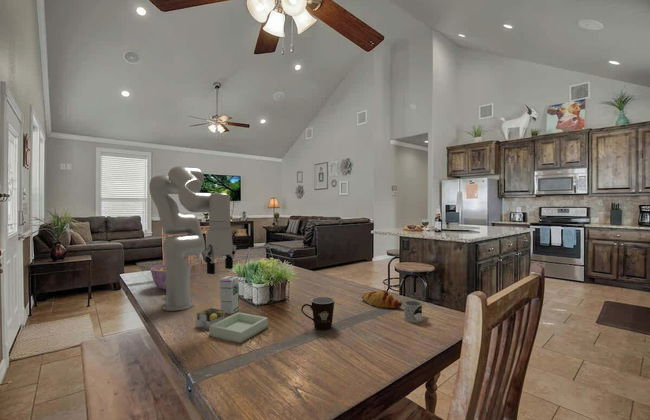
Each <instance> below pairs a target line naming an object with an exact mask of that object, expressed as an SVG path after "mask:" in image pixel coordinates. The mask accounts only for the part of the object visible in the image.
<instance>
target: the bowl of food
mask: <svg viewBox="0 0 650 420" xmlns="http://www.w3.org/2000/svg"><path fill="white" fill-rule="evenodd" d="M189 268H190V271H191V269H192V264H189ZM150 272H151V276H152V280H153V283H154V285H155V286H156V287H157V288H159V289H163V291H166V264H160V265H157V266H153V267H150Z"/></svg>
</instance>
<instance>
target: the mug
mask: <svg viewBox="0 0 650 420" xmlns="http://www.w3.org/2000/svg"><path fill="white" fill-rule="evenodd" d="M403 308H404V310H403V312H404V313H403V315H404V318H403V319H404V321H405V322H406V323H407V322H408V323H411V324H419V323H422V321H423V316H422V315H423V303H422V302H421V301H418V300H405V301H403Z"/></svg>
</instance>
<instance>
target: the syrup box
mask: <svg viewBox="0 0 650 420" xmlns="http://www.w3.org/2000/svg"><path fill="white" fill-rule="evenodd" d="M239 283H240V282H239V276H237V275H236V276H235V275H226V276H225V277H222V278H220V279H219V296H220V297H219V298H220V309H221V310H224V314H227V315H228V314H231V315H234V314H235V313H237V311H239V310H240V293H239V291H240V289H239V288H240V287H239Z"/></svg>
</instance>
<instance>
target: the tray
mask: <svg viewBox="0 0 650 420" xmlns="http://www.w3.org/2000/svg"><path fill="white" fill-rule="evenodd" d="M267 328H269V317H266V316H262V315H261V316H260V315H254V314H249V313H244V312H235V313H233V314H231V315H230V316H226V317H225V319H223V320H221V321H219V322H216V323H214V324H212V325H210V326H209V330H208V331H209V333H208V335H209V336H210V337H212V338H213V337H214V338H217V339H221V340H226V341H230V342H234V343H238V344H242V343H244V342H246V341H248V340H250V339H251V338H252V337H254V336H256V335H257V334H259V333H261V332H262V331H265V329H266V330H267Z"/></svg>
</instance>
